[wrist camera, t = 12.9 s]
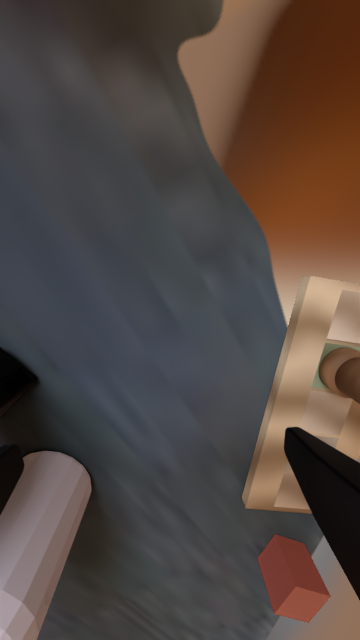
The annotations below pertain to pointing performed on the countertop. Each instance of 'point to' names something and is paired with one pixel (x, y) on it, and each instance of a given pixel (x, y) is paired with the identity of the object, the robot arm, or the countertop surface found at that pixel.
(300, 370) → the track board
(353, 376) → the pawn
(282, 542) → the red cube
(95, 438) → the countertop surface
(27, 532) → the soap bottle
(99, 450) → the countertop surface
